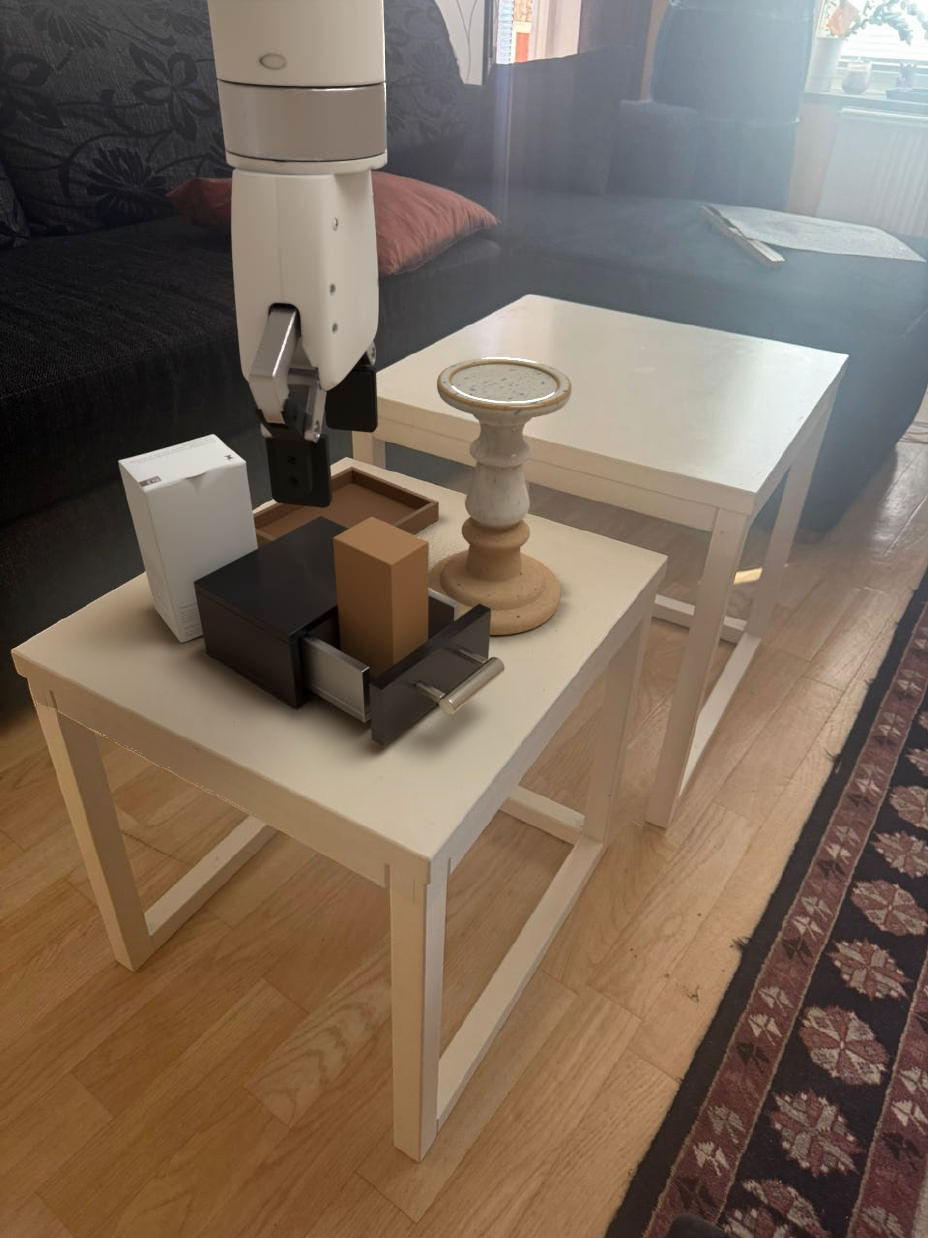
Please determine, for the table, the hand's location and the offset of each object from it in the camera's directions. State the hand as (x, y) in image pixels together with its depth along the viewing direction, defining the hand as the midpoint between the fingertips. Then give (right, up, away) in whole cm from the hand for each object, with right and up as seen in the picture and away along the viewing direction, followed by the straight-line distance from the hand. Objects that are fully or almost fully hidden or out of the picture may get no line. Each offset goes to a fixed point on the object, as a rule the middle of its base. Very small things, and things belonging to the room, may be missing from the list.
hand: (329, 463), depth 50 cm
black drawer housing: (-5, -11, +22) cm, 25 cm away
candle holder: (+10, -7, +28) cm, 31 cm away
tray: (-5, 0, +37) cm, 37 cm away
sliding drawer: (+4, -14, +16) cm, 22 cm away
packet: (+2, -12, +17) cm, 21 cm away
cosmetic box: (-14, -9, +25) cm, 30 cm away
